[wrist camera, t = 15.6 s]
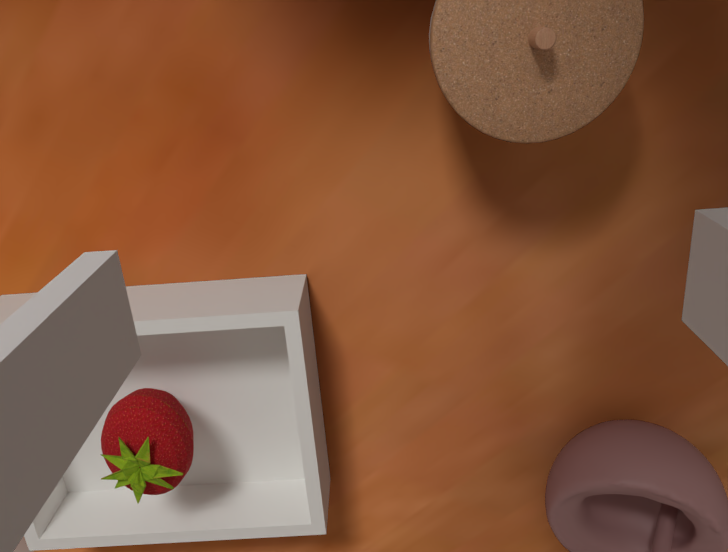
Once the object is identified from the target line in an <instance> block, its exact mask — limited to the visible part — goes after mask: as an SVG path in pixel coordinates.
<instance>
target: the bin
mask: <svg viewBox="0 0 728 552" xmlns="http://www.w3.org/2000/svg"><path fill="white" fill-rule="evenodd" d="M126 291H127V295H128V299H129V304H130V308H131V312H132V316H133V321H134V325H135V329H136V333H137V338H138V342H139V346H140V351H141V357H140V358H139V360H138V361H137V363H136V364H135V366H134V368H133V369H132V371H131V372H130V374H129V375H128V377H127V378H126V380H125V381H124V383H123V384H122V386H121V387H120V389H119V391H118V392H117V394H116V395H115V397H114V398H113V400H112V401H111V403H110V404H109V406H108V407H107V409H106V410H105V412H104V413H103V415H102V417H101V418H100V420H99V421H98V423H97V424H96V426H95V427H94V429H93V430H92V432H91V433H90V435H89V436H88V438H87V440H86V441H85V443H84V444H83V446H82V447H81V449H80V450H79V452H78V453H77V455H76V456H75V458H74V459H73V461H72V463H71V464H70V466H69V467H68V469H67V470H66V472H65V473H64V475H63V476H62V478H61V479H60V481H59V482H58V484H57V485H56V487H55V489H54V490H53V492H52V493H51V495H50V496H49V498H48V499H47V501H46V502H45V504H44V505H43V507H42V508H41V510H40V512H39V513H38V515H37V516H36V518H35V519H34V521H33V522H32V524H31V525H30V527H29V528H28V530H27V531H26V533H25V535H24V537H25V540H26V543H27V546H28V549H29V551H33V550H51V549H69V548H87V547H105V546H123V545H142V544H160V543H178V542H196V541H214V540H232V539H250V538H268V537H286V536H304V535H322V534H326V531H327V518H328V505H329V492H330V480H331V479H330V470H329V462H328V453H327V445H326V436H325V428H324V419H323V411H322V402H321V394H320V385H319V377H318V368H317V360H316V351H315V343H314V334H313V326H312V317H311V309H310V300H309V292H308V283H307V275H306V274H302V275H287V276H273V277H258V278H244V279H229V280H214V281H200V282H185V283H171V284H156V285H141V286H127V287H126ZM35 294H37V293H25V294H10V295H1V296H0V324H2V323H3V322H4V321H5V320H6V319H7V318H9V317H10V316H11V315H12V314H13V313H14V312H16V311H17V310H18V309H19V308H20V307H21V306H23V305H24V304H25V303H26V302H27V301H28V300H30V299H31V298H32V297H33V296H34V295H35ZM143 388H153V389H158V390H163V391H166V392H168V393H170V394H172V395H173V396H174V397H175V398H176V399H177V400H178V401H179V402H180V403H181V405H182V406H183V407H184V409H185V410H186V412H187V414H188V415H189V417H190V420H191V423H192V427H193V437H194V452H193V460H192V464H191V467H190V469H189V471H188V472H187V474H186V475H185V477H184V478H183V479H182V481H181V482H180V483H179V484H178V486H176V487H175V488H174V489H173V490H171V491H169V492H167V493H164V494H159V495H147V494H142V497H141V499H140V502H139V503H137V501H136V498H135V495H134V492H133V491H132V490H130V489H129V488H127V487H125V486H122V487H119V488H115V486H116V484H117V482H118V480H101V478H103V477H105V476H108V475H110V474H112V472H111V470H110V469H109V467H108V466H107V464H106V461H105V459H104V457H103V456H102V455H100V454H103V453H102V449H101V435H102V430H103V426H104V423H105V420H106V417H107V414H108V412H109V411H110V409H111V408H112V406H113V405H114V404H116V403H117V402H118V401H119V400H121V399H122V398H124V397H125V396H127V395H128V394H130V393H132V392H134V391H136V390H138V389H143Z"/></svg>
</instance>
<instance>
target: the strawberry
mask: <svg viewBox="0 0 728 552" xmlns="http://www.w3.org/2000/svg"><path fill="white" fill-rule="evenodd" d="M101 449H102V453H103V454H100V455H102V456H103V457H104V459H105V461H106V464H107V466H108V467H109V469H110V470H111V472H112V474H110V475H108V476H105V477H103V478H101V480H118V482H117V484H116V486H115V488H119V487H122V486H125V487H127V488H129V489H130V490H132V491H133V492H134V495H135V498H136V501H137V503H139V502H140V499H141V497H142V494H147V495H159V494H164V493H167V492H169V491H171V490H173V489H174V488H175V487H176V486H178V484H179V483H180V482H181V481H182V479H183V478H184V477H185V475H186V474H187V472H188V471H189V469H190V467H191V464H192V460H193V452H194V437H193V427H192V423H191V420H190V417H189V415H188V414H187V412H186V410H185V409H184V407H183V406H182V405H181V403H180V402H179V401H178V400H177V399H176V398H175V397H174V396H173V395H172V394H170V393H168V392H166V391H163V390H158V389H153V388H143V389H138V390H136V391H134V392H132V393H130V394H128V395H127V396H125V397H124V398H122V399H121V400H119V401H118V402H117V403H116V404H114V405H113V406H112V408H111V409H110V411H109V412H108V414H107V417H106V420H105V423H104V426H103V430H102V435H101Z"/></svg>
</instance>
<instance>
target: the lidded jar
mask: <svg viewBox="0 0 728 552" xmlns="http://www.w3.org/2000/svg"><path fill="white" fill-rule="evenodd" d="M643 28H644V10H643V0H436V2H435V5H434V8H433V12H432V16H431V21H430V30H429V51H430V56H431V62H432V66H433V71H434V74H435V76H436V79H437V82H438V85H439V87H440V89H441V91H442V92H443V94H444V96H445V98H446V100H447V101H448V102H449V104H450V105H451V106H452V108H453V109H454V110H455V111H456V113H457V114H458V115H460V116H461V117H462V118H463V119H464V120H465V121H466V122H467V123H468V124H470V125H471V126H473V127H474V128H476V129H477V130H479V131H480V132H482V133H484V134H487V135H489V136H491V137H493V138H496V139H500V140H504V141H508V142H514V143H526V144H527V143H541V142H546V141H550V140H554V139H558V138H561V137H563V136H566V135H569V134H571V133H573V132H575V131H577V130H579V129H580V128H582V127H584V126H586V125H587V124H589V123H590V122H591V121H593V120H594V119H595V118H596V117H598V116H599V115H600V114H601V113H602V112H603V111H604V110H605V109H606V108H607V107H608V106H609V105H610V104H611V103H612V102H613V101H614V100H615V98H616V97H617V96H618V94H619V93H620V92H621V90H622V89H623V88H624V86H625V84H626V82H627V81H628V79H629V77H630V75H631V73H632V71H633V69H634V66H635V63H636V61H637V58H638V56H639V52H640V47H641V43H642V39H643Z"/></svg>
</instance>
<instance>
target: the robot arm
mask: <svg viewBox="0 0 728 552" xmlns="http://www.w3.org/2000/svg"><path fill="white" fill-rule="evenodd" d="M682 321H683V322H684V323H685V324H686V325H687V326H688V327H689V328H690V329H691V330H692V331H693V332H694V333H695V334H696V335H697V336H698V337H699V338H700V339H701V340H702V341H703V342H704V343H705V344H706V345H707V346H708V347H709V348H710V349H711V350H712V351H713V352H714V353H715V354H716V355H717V356H718V357H719V358H720V359H721V360H722V361H723V362H724V363H725V364H726V365H727V366H728V207H727V208H713V209H699V210H695V215H694V224H693V232H692V240H691V248H690V256H689V264H688V272H687V280H686V289H685V297H684V305H683V313H682ZM140 357H141V351H140V346H139V342H138V338H137V333H136V329H135V325H134V321H133V316H132V312H131V308H130V304H129V299H128V295H127V291H126V286H125V282H124V278H123V274H122V269H121V265H120V261H119V256H118V252H117V250H113V251H98V252H84V253H83V254H82V255H81V256H80V257H79V258H77V259H76V260H75V261H74V262H73V263H72V264H70V265H69V266H68V267H67V268H66V269H65V270H63V271H62V272H61V273H60V274H59V275H58V276H56V277H55V278H54V279H53V280H52V281H51V282H49V283H48V284H47V285H46V286H45V287H44V288H42V289H41V290H40V291H39V292H38V293H37V294H35V295H34V296H33V297H32V298H31V299H30V300H28V301H27V302H26V303H25V304H24V305H23V306H21V307H20V308H19V309H18V310H17V311H16V312H14V313H13V314H12V315H11V316H10V317H9V318H7V319H6V320H5V321H4V322H3V323H2V324H0V552H13V551H14V550H15V548H16V547H17V545H18V544H19V542H20V541H21V539H22V538H23V536H24V535H25V533H26V531H27V530H28V528H29V527H30V525H31V524H32V522H33V521H34V519H35V518H36V516H37V515H38V513H39V512H40V510H41V508H42V507H43V505H44V504H45V502H46V501H47V499H48V498H49V496H50V495H51V493H52V492H53V490H54V489H55V487H56V485H57V484H58V482H59V481H60V479H61V478H62V476H63V475H64V473H65V472H66V470H67V469H68V467H69V466H70V464H71V463H72V461H73V459H74V458H75V456H76V455H77V453H78V452H79V450H80V449H81V447H82V446H83V444H84V443H85V441H86V440H87V438H88V436H89V435H90V433H91V432H92V430H93V429H94V427H95V426H96V424H97V423H98V421H99V420H100V418H101V417H102V415H103V413H104V412H105V410H106V409H107V407H108V406H109V404H110V403H111V401H112V400H113V398H114V397H115V395H116V394H117V392H118V391H119V389H120V387H121V386H122V384H123V383H124V381H125V380H126V378H127V377H128V375H129V374H130V372H131V371H132V369H133V368H134V366H135V364H136V363H137V361H138V360H139V358H140Z"/></svg>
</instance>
